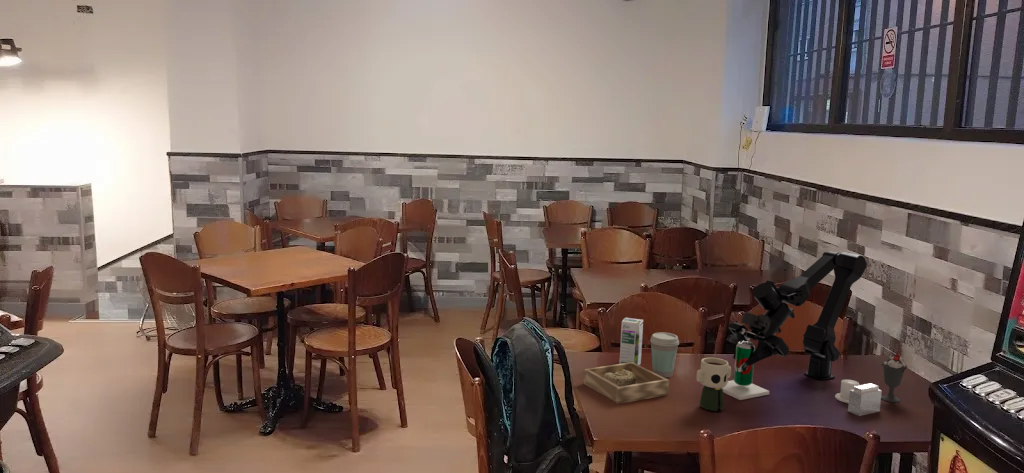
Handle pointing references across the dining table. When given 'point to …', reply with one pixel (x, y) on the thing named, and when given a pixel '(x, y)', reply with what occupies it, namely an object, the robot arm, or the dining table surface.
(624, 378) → the coiled snake
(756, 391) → the coaster
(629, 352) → the syrup box
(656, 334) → the coffee cup
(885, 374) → the sundae
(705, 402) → the character mug
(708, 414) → the dining table surface
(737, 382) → the soda can
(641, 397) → the bread tray
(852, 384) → the white flanged peg
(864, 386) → the napkin holder
